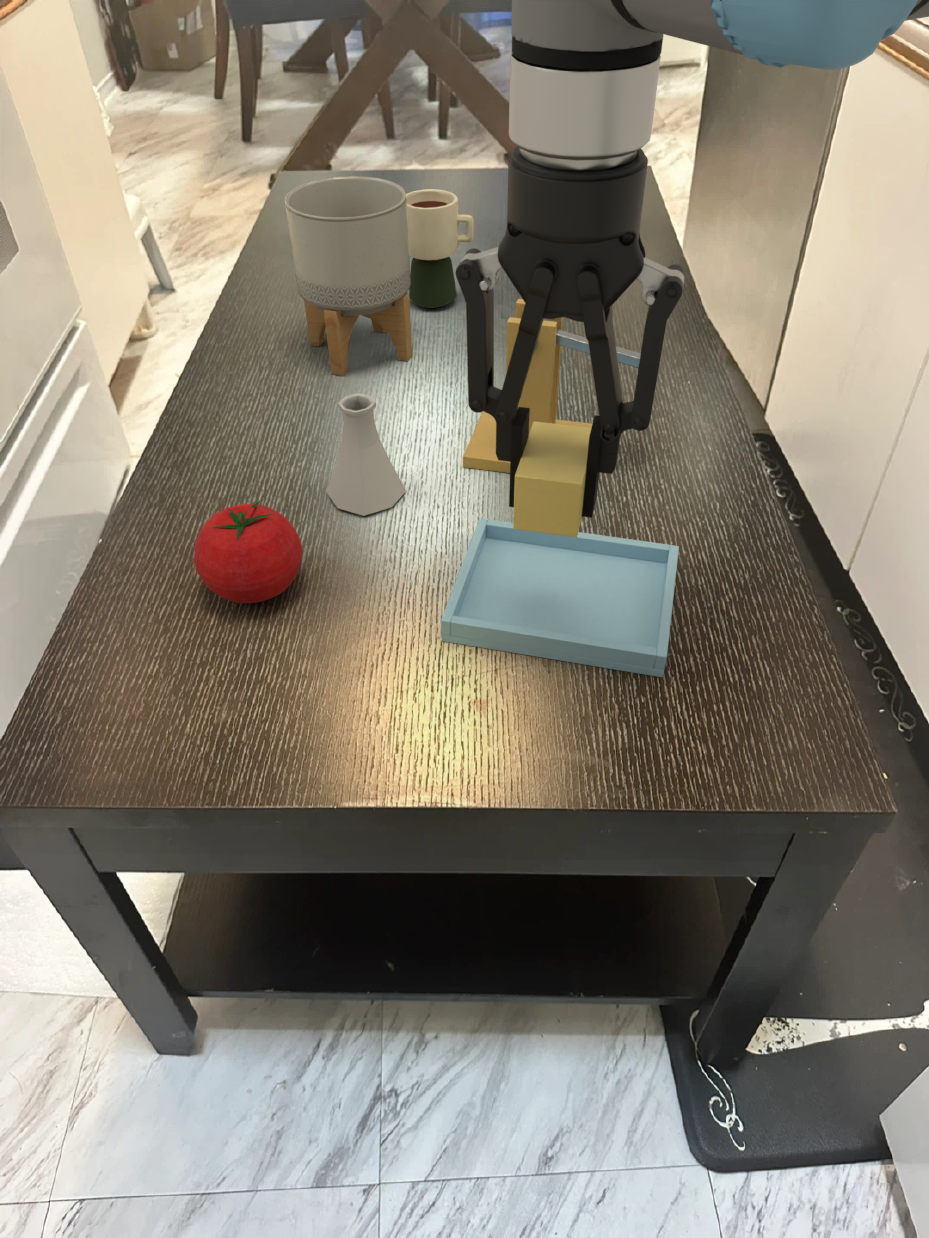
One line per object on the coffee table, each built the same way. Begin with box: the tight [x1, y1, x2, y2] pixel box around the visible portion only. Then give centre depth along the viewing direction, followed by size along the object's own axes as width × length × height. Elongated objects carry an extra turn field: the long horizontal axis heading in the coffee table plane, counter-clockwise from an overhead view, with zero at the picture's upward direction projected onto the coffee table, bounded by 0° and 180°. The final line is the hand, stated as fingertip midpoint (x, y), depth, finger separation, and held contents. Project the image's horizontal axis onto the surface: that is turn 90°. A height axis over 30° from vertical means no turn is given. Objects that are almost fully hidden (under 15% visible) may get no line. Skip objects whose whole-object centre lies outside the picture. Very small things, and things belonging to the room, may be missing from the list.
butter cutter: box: [462, 298, 593, 474], centre depth 86 cm, size 12×9×15 cm
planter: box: [284, 175, 413, 377], centre depth 101 cm, size 13×13×18 cm
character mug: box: [406, 188, 475, 309], centre depth 112 cm, size 11×7×13 cm, turn 83°
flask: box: [326, 392, 407, 517], centre depth 82 cm, size 7×7×10 cm
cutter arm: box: [543, 318, 641, 369], centre depth 82 cm, size 13×6×2 cm, turn 76°
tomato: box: [193, 500, 303, 604], centre depth 73 cm, size 9×9×8 cm
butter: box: [512, 422, 591, 537], centre depth 62 cm, size 7×4×4 cm, turn 167°
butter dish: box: [440, 518, 680, 678], centre depth 74 cm, size 18×14×2 cm
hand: (553, 500), depth 64 cm, fingers closed on butter, 4 cm apart
